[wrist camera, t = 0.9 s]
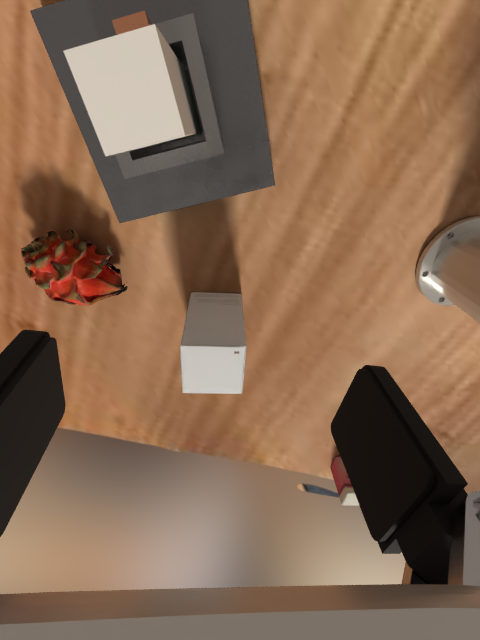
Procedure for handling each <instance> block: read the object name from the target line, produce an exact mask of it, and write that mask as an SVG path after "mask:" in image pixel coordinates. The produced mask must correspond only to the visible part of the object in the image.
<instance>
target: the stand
mask: <svg viewBox="0 0 480 640" xmlns="http://www.w3.org/2000/svg"><path fill="white" fill-rule="evenodd" d="M30 12H31V14H32V17H33V19H34V22H35V24H36V26H37V29H38V31H39V33H40V36H41V38H42V40H43V43H44V45H45V48H46V50H47V52H48V55H49V57H50V59H51V62H52V64H53V67H54V69H55V71H56V74H57V76H58V78H59V81H60V83H61V86H62V88H63V90H64V93H65V95H66V97H67V100H68V102H69V104H70V107H71V109H72V112H73V114H74V116H75V119H76V121H77V123H78V126H79V128H80V131H81V133H82V135H83V138H84V140H85V142H86V145H87V147H88V149H89V152H90V154H91V157H92V159H93V161H94V164H95V166H96V168H97V171H98V173H99V176H100V178H101V180H102V183H103V185H104V187H105V190H106V192H107V194H108V197H109V199H110V202H111V204H112V206H113V209H114V211H115V213H116V216H117V218H118V221H119V223H122V222H127V221H131V220H135V219H139V218H143V217H147V216H151V215H155V214H159V213H163V212H168V211H172V210H176V209H180V208H184V207H188V206H192V205H196V204H200V203H205V202H209V201H213V200H217V199H221V198H225V197H229V196H233V195H237V194H242V193H246V192H250V191H254V190H258V189H262V188H266V187H270V186H274V185H275V181H274V174H273V167H272V161H271V154H270V147H269V140H268V134H267V127H266V120H265V114H264V107H263V100H262V94H261V87H260V80H259V74H258V67H257V60H256V53H255V47H254V40H253V33H252V27H251V20H250V13H249V7H248V0H64V1H61V2H57V3H54V4H51V5H48V6H44V7H41V8H38V9H35V10H31V11H30ZM153 24H155V25H156V26H157V28H158V29H159V31H160V32H161V34H162V35H163V37H164V38H165V40H166V41H167V43H168V44H169V46H170V47H171V49H172V50H173V52H174V53H175V55H176V56H177V58H178V59H179V61H180V63H181V64H184V66H185V68H186V72H187V77H188V81H189V85H190V89H191V93H192V97H193V101H194V105H195V109H196V113H197V117H198V121H199V125H200V129H201V133H202V134H198V135H195V136H191V137H187V138H183V139H179V140H175V141H172V142H168V143H164V144H160V145H156V146H153V147H149V148H147V147H143V148H139V149H135V150H131V151H126V152H122V153H118V154H114V155H109V156H105V154H104V151H103V149H102V146H101V144H100V141H99V139H98V136H97V134H96V131H95V129H94V126H93V124H92V121H91V119H90V116H89V114H88V111H87V109H86V106H85V104H84V101H83V99H82V97H81V94H80V92H79V89H78V87H77V84H76V82H75V79H74V77H73V74H72V72H71V69H70V67H69V64H68V62H67V59H66V57H65V54H64V52H63V51H64V50H67V49H71V48H74V47H78V46H81V45H85V44H88V43H91V42H95V41H98V40H102V39H105V38H108V37H112V36H115V35H119V34H122V33H125V32H129V31H132V30H136V29H139V28H143V27H146V26H149V25H153Z"/></svg>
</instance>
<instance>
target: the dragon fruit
mask: <svg viewBox="0 0 480 640" xmlns="http://www.w3.org/2000/svg"><path fill="white" fill-rule="evenodd" d="M69 231H71V232H72V233H73V237H72V238H71V239H70V240H67V241H63V240H62V239H61V237H60V235H59V234H57V233H56V232H54V231H50V232H47V233H48V237H44V236H42V237H39V238H37V239H35V240H34V241H32V242H31V244H29V245H27V246H26V247H24V248H22V249H21V250H22V251H21V253H22V258H23V260H24V261H25V265H26V267H25V271H26V273H27V275H28V277H29V278H30V279H34V280H35V282H36V285H38V286H39V287H41V288H43V289H44V290H45V292H46V294H47V295H48V296H49V298H51V300H53V301H56V302H63V303H67V304H78V305H86V306H88V305H92V304H94V303H95V302H97V301H99V300H102V299H104V298H108V297H111V296H115V295H119V294H121V293H122V292H124V291H126V290H127V286H126V287H125V288H124V285H125V284H124V285H122V279H121V277H122V276H121V272H120V269H116V267H115V266H114V265H113V264H111V263H109V259H110V258H111V256H113V253H112V250H113V249H112V247H110V246H109V245H107V244H105V245H106V250H107V252H108V255H98V254H96V253H95V250H96V249H97V247H96V245H95V243H94V242H92V241H90V242H89V241H83V242H82V241H79V237H78V234H77V233H76V232H75V231H74V230H72V229H68V230H66V232H69ZM87 246H88V247H87ZM107 263H109V264H110V265H111V266H109V267H110V268H111V269H110V268H109V267H108V266H107V265H106V264H107ZM113 270H114V271H113Z"/></svg>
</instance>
